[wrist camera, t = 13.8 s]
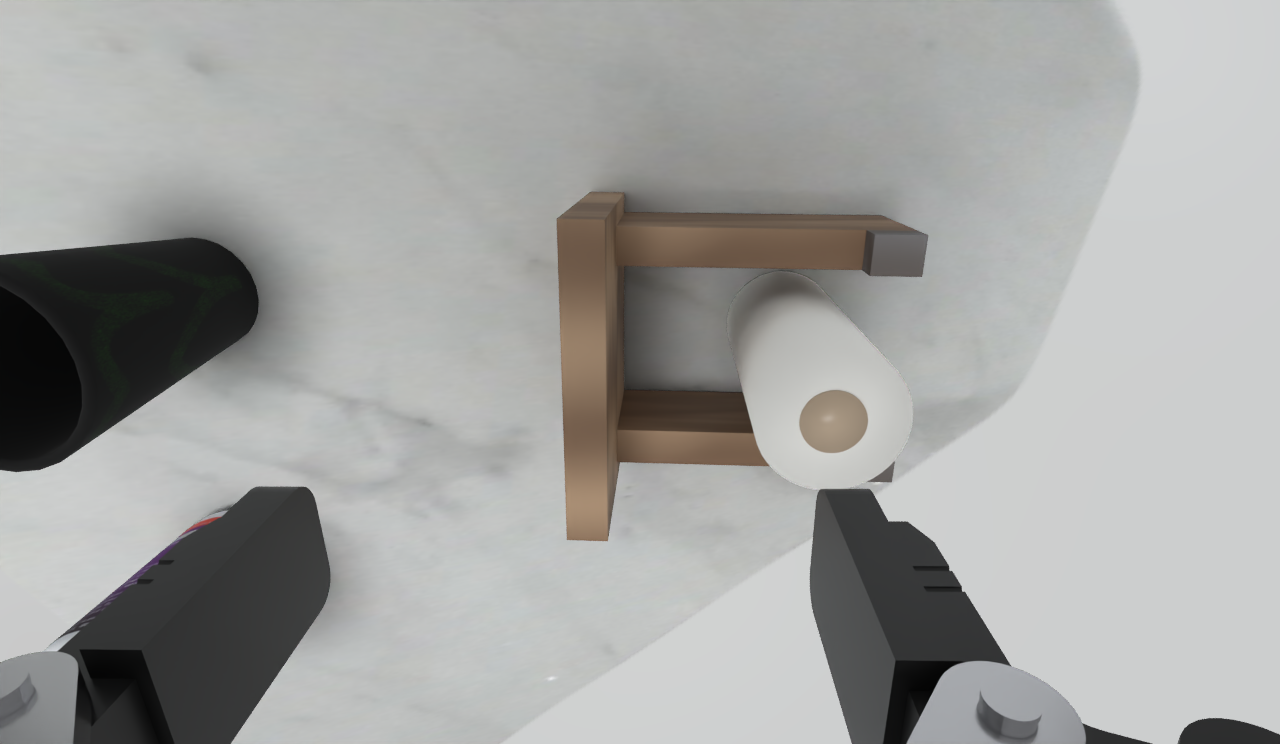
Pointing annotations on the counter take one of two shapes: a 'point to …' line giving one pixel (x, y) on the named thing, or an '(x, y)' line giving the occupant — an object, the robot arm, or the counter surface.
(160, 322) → the cup
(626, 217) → the holder
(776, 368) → the roll
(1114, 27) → the counter surface
